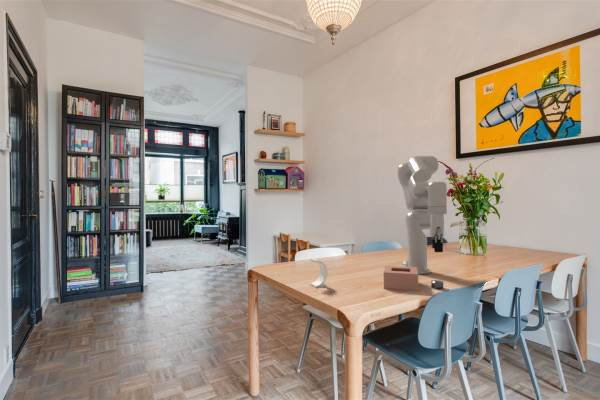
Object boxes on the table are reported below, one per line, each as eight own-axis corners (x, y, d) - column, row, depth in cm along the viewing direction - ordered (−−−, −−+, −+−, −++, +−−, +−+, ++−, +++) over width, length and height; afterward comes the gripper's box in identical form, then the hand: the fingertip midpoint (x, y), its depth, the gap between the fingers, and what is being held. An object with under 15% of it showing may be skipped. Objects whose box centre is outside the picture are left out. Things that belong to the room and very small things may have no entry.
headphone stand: (310, 285, 146) (310, 258, 146) (321, 283, 149) (321, 257, 149) (316, 287, 142) (315, 260, 142) (327, 285, 145) (327, 259, 145)
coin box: (383, 288, 140) (383, 272, 140) (385, 280, 153) (385, 265, 153) (418, 291, 136) (418, 274, 136) (416, 282, 149) (416, 267, 149)
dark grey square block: (429, 287, 140) (429, 281, 140) (435, 286, 143) (435, 279, 143) (439, 290, 136) (439, 283, 136) (445, 288, 139) (445, 282, 139)
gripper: (426, 209, 149) (426, 246, 149) (429, 211, 132) (429, 253, 132) (444, 209, 146) (444, 247, 147) (449, 211, 130) (449, 254, 130)
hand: (437, 250), depth 139 cm, fingers open, 9 cm apart
